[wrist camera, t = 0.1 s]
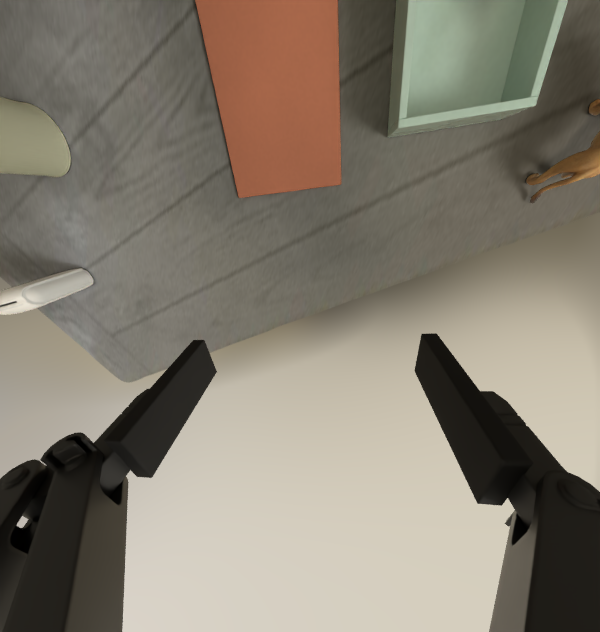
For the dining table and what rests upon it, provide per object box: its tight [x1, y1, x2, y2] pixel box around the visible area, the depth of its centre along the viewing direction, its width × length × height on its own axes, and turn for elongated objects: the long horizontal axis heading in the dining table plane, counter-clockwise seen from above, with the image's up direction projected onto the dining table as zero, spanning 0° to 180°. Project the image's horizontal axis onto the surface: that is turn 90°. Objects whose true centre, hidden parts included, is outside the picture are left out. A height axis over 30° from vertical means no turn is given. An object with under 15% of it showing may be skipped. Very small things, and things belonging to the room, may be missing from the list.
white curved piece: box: [0, 268, 94, 315], centre depth 41 cm, size 10×4×12 cm, turn 104°
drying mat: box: [195, 0, 341, 198], centre depth 28 cm, size 24×16×1 cm, turn 6°
